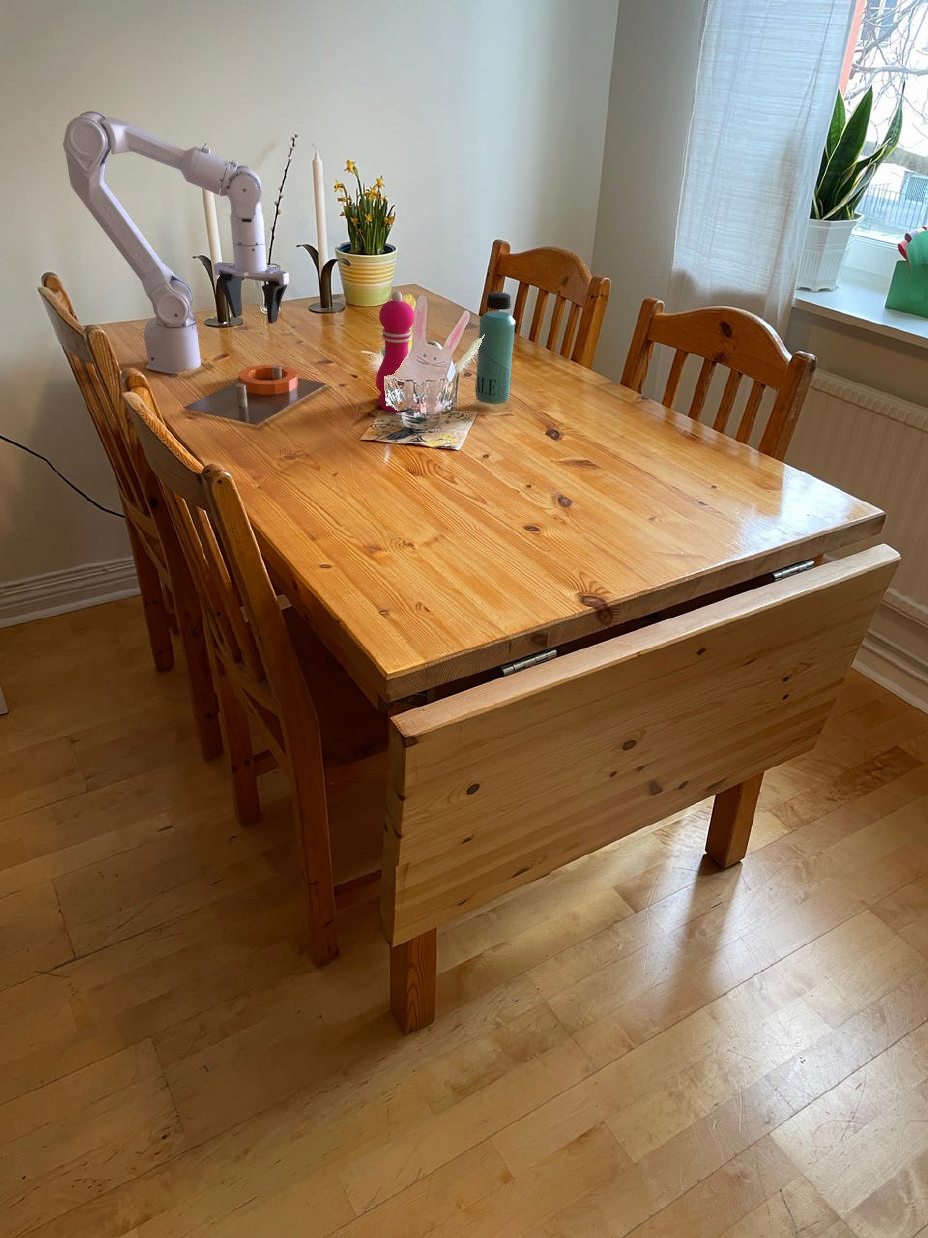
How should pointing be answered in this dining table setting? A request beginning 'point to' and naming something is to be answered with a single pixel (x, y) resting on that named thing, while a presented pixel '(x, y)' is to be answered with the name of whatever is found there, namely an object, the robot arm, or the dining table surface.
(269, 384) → the ring
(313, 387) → the peg board
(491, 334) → the beverage bottle
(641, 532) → the dining table surface
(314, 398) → the dining table surface
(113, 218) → the robot arm
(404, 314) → the pepper mill
